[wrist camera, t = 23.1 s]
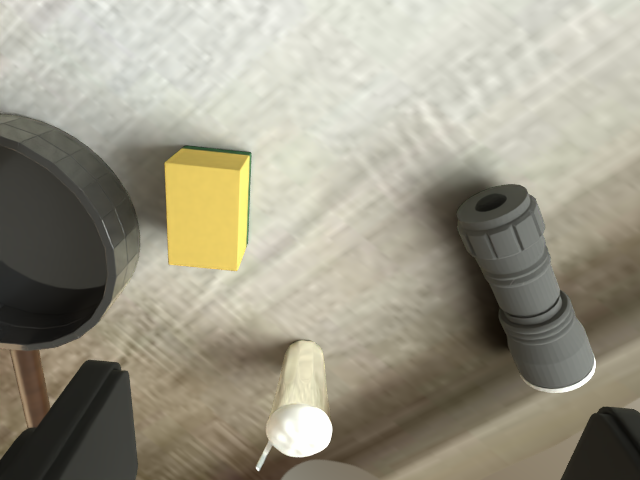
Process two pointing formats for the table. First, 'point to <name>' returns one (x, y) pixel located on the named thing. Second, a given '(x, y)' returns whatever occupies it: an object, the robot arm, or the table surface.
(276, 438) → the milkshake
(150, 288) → the table surface
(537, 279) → the flashlight
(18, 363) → the pan handle
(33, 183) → the pan
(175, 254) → the sponge
